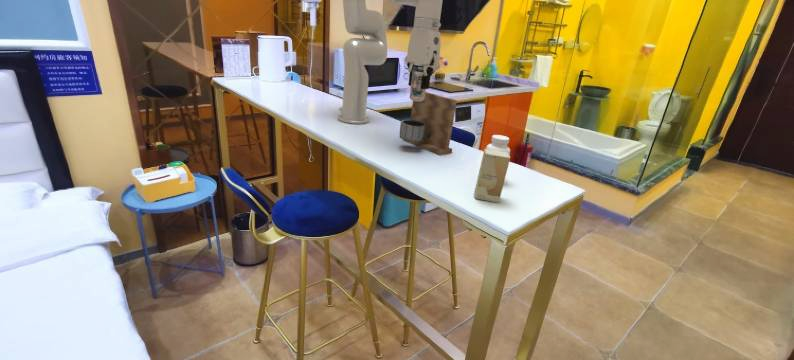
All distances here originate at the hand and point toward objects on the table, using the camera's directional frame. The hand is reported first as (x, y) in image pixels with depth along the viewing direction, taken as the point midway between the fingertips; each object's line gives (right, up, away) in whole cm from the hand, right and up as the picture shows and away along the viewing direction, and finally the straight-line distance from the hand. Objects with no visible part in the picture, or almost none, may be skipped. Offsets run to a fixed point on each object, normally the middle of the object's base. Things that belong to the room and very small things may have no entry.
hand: (418, 86), depth 121 cm
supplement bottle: (+20, -30, -11) cm, 38 cm away
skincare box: (+16, -34, -23) cm, 44 cm away
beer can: (-1, -4, +2) cm, 5 cm away
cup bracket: (0, -19, +10) cm, 21 cm away
